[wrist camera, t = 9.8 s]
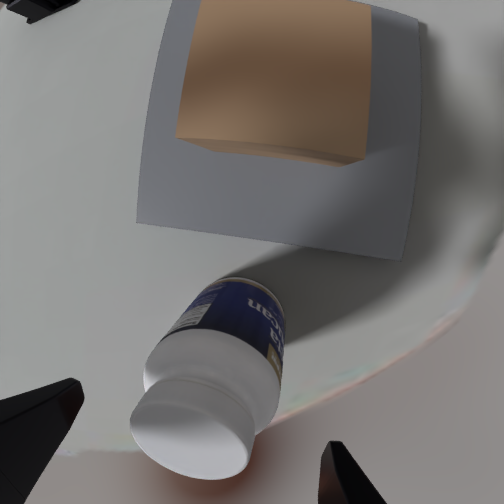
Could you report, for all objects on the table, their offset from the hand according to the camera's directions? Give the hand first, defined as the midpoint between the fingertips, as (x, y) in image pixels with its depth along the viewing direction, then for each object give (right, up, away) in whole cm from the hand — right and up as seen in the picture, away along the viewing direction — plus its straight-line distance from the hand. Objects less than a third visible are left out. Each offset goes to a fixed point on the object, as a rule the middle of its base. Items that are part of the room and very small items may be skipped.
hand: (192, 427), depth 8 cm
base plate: (+4, +13, +5) cm, 15 cm away
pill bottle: (+1, +2, +9) cm, 9 cm away
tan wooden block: (+3, +13, +4) cm, 14 cm away
